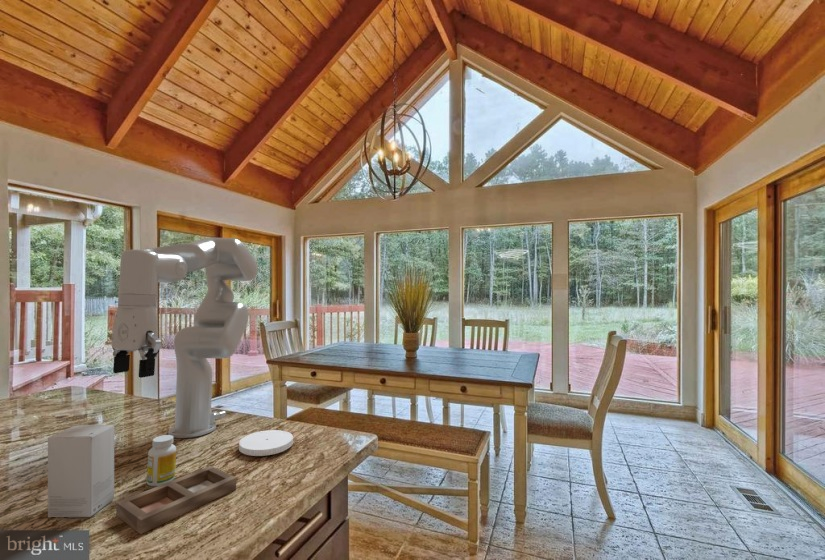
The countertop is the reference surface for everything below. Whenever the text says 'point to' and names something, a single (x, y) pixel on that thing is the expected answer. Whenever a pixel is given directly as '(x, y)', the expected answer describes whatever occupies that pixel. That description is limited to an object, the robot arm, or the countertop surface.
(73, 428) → the skincare box
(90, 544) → the countertop surface
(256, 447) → the plastic lid
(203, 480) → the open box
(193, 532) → the countertop surface
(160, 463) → the supplement bottle
